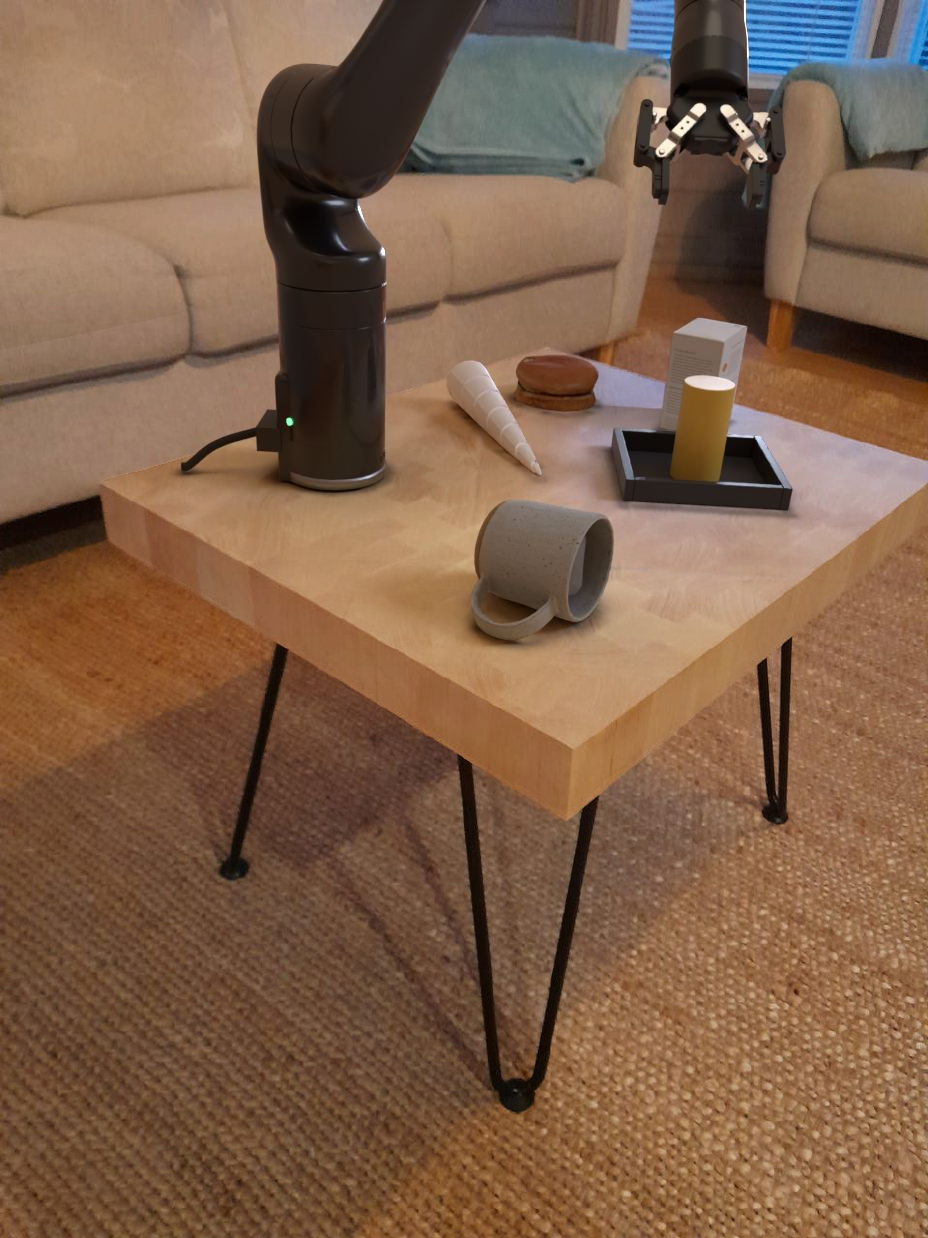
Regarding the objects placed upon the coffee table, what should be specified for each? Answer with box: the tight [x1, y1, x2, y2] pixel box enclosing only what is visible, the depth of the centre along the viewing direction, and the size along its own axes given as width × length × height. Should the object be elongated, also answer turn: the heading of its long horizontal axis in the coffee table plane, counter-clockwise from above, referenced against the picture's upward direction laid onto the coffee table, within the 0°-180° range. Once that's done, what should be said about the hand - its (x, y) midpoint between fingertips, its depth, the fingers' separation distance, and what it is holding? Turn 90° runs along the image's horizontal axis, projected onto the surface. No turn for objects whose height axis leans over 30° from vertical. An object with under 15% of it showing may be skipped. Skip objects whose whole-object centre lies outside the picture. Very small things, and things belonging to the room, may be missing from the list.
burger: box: [513, 354, 599, 412], centre depth 117 cm, size 10×9×5 cm
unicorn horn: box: [446, 359, 542, 476], centre depth 105 cm, size 5×24×5 cm, turn 14°
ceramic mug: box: [470, 499, 615, 641], centre depth 73 cm, size 11×8×8 cm
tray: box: [610, 427, 794, 511], centre depth 98 cm, size 15×14×2 cm
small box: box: [659, 317, 748, 431], centre depth 110 cm, size 8×6×10 cm
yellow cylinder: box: [670, 375, 737, 482], centre depth 96 cm, size 5×5×9 cm
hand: (708, 202), depth 100 cm, fingers open, 8 cm apart
